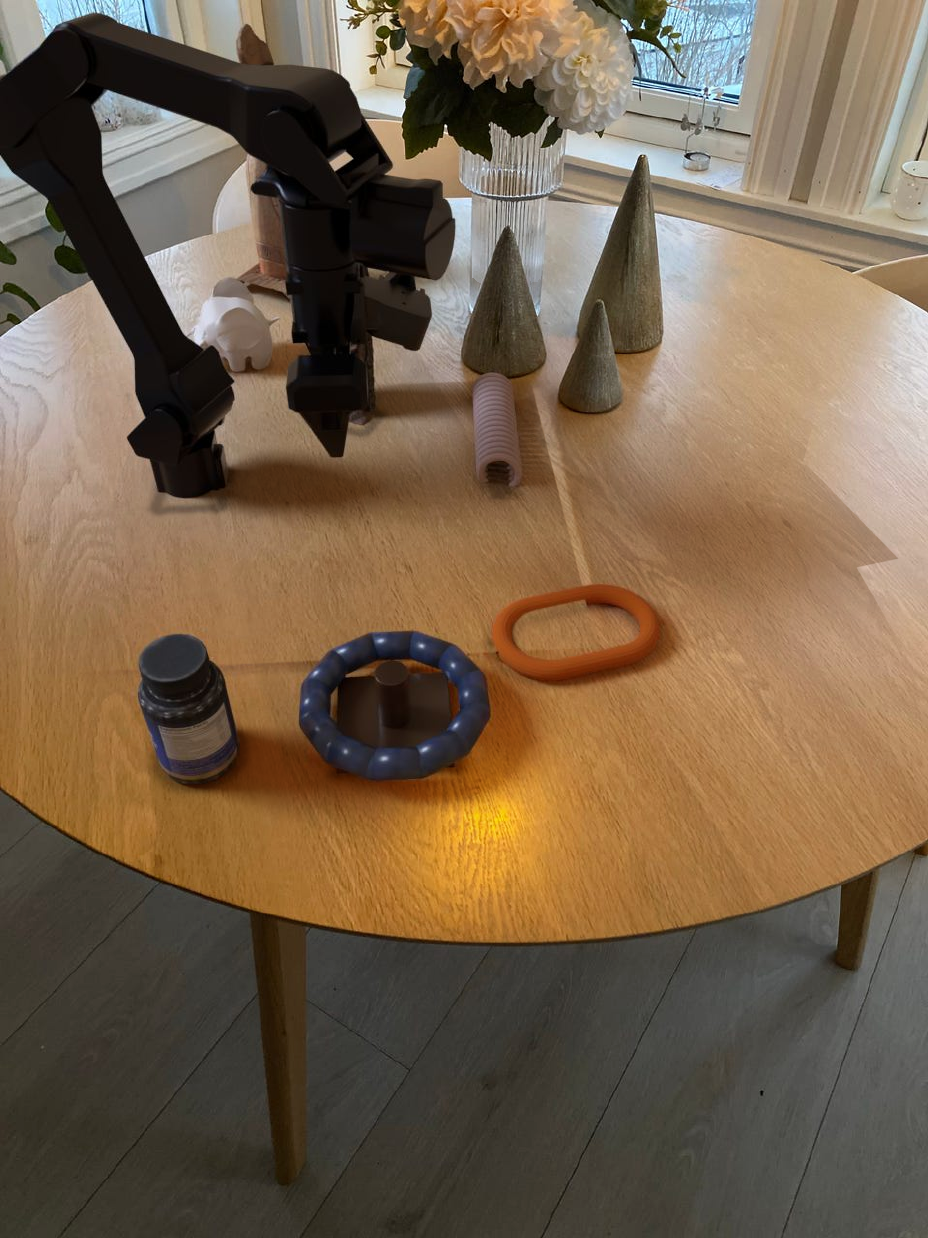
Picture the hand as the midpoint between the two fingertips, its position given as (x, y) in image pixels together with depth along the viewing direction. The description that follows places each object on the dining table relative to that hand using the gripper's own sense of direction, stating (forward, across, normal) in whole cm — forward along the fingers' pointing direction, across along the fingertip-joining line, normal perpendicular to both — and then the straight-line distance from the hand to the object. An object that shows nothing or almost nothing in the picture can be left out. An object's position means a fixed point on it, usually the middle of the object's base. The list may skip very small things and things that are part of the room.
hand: (338, 427), depth 86 cm
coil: (+12, +14, -16) cm, 25 cm away
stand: (+12, -25, -4) cm, 28 cm away
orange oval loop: (+12, -16, -20) cm, 28 cm away
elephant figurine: (+12, +35, +14) cm, 40 cm away
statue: (+12, +22, 0) cm, 25 cm away
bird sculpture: (+12, +56, +9) cm, 58 cm away
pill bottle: (+12, -27, +11) cm, 32 cm away
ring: (+10, -24, -4) cm, 27 cm away
